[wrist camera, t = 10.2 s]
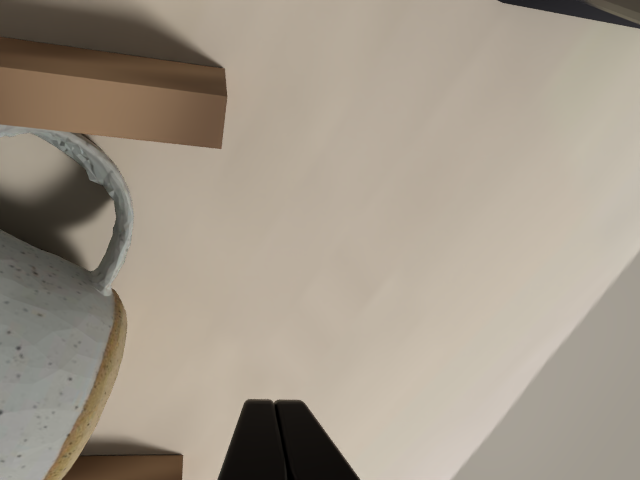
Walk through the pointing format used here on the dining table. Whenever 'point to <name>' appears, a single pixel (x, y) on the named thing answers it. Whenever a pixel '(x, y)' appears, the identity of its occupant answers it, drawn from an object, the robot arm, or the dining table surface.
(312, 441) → the robot arm
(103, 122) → the walnut bay
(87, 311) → the ceramic mug
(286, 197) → the dining table surface
